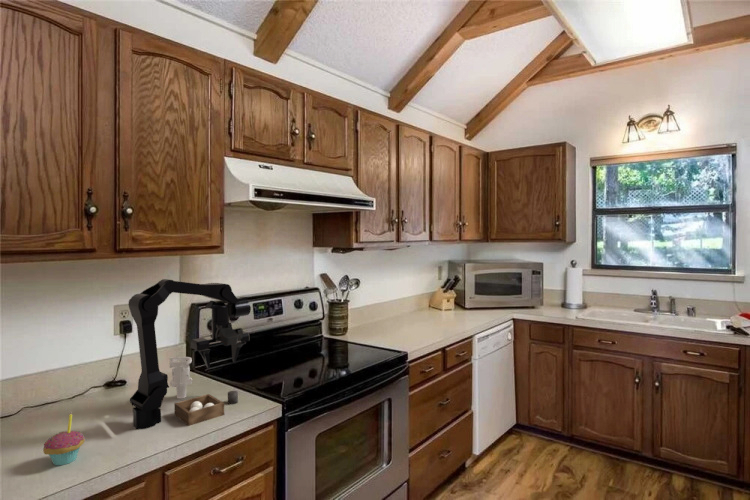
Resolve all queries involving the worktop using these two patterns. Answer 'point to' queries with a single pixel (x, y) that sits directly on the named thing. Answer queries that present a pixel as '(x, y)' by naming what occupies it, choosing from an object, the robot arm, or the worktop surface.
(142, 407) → the robot arm
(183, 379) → the white tall flanged cylinder
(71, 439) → the cupcake
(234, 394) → the lid
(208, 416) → the box
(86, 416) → the worktop surface
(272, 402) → the worktop surface
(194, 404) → the egg
